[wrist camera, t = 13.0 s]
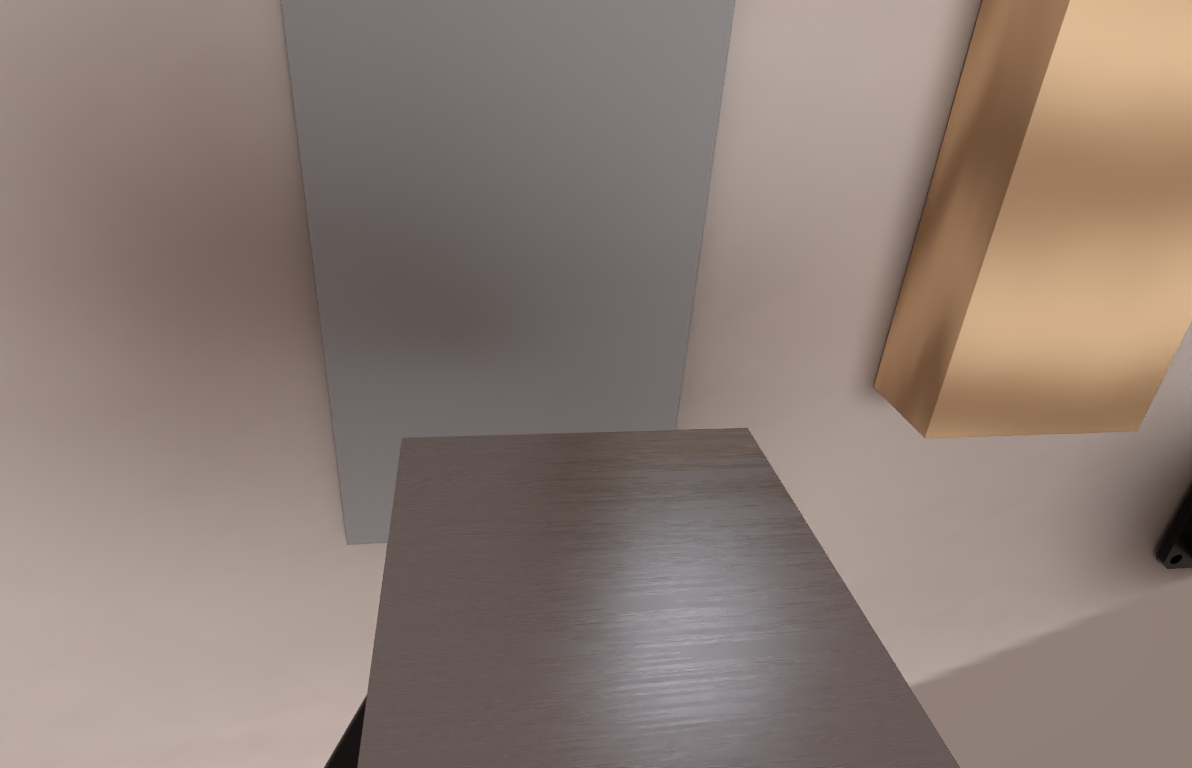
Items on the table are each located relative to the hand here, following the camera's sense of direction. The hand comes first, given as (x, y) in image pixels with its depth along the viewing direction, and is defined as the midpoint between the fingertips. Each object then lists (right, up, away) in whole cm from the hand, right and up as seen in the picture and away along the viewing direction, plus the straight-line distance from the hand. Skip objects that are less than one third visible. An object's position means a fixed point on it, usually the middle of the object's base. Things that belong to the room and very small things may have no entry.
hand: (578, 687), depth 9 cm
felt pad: (-2, +6, +11) cm, 13 cm away
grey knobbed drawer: (0, +1, +1) cm, 1 cm away
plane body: (+13, +10, +12) cm, 20 cm away
